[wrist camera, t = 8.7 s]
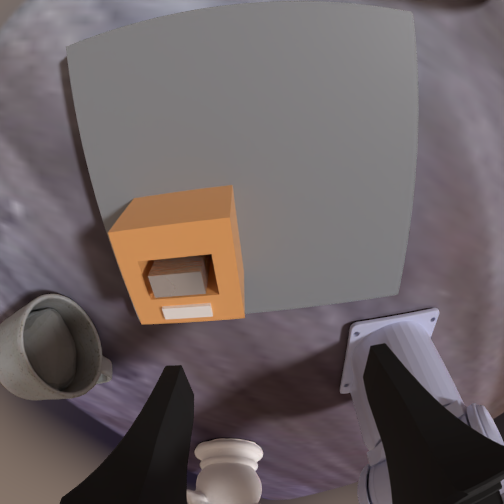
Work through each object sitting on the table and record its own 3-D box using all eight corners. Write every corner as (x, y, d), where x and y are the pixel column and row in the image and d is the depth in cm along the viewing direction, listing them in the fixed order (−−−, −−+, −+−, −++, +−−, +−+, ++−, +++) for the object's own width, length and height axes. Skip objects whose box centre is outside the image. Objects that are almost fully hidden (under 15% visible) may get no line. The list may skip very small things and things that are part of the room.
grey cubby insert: (213, 243, 18) (205, 293, 14) (172, 248, 18) (155, 297, 14) (209, 224, 17) (200, 271, 13) (167, 229, 17) (147, 276, 13)
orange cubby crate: (232, 184, 16) (229, 219, 13) (243, 272, 19) (244, 320, 15) (133, 198, 16) (106, 234, 13) (156, 279, 19) (140, 327, 15)
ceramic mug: (7, 306, 22) (-32, 368, 15) (51, 272, 20) (3, 347, 14) (83, 378, 27) (62, 441, 20) (138, 360, 25) (120, 437, 19)
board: (391, 284, 21) (397, 294, 20) (143, 309, 22) (139, 320, 21) (402, 14, 12) (412, 12, 11) (76, 47, 13) (65, 47, 12)
